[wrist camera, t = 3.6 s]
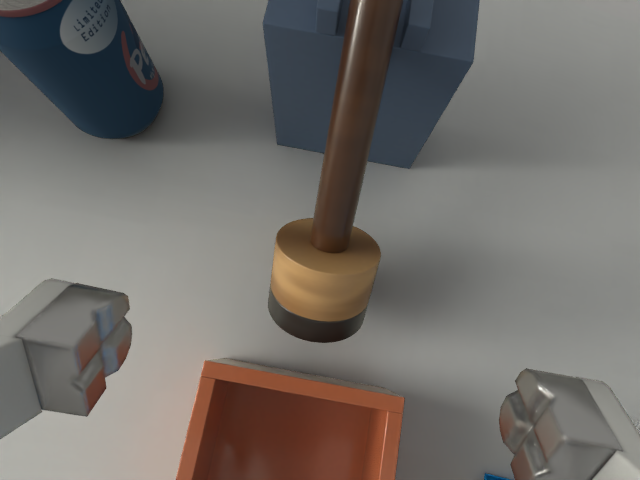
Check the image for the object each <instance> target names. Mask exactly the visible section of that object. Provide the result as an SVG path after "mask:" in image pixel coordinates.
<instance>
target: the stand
mask: <svg viewBox="0 0 640 480" xmlns="http://www.w3.org/2000/svg"><path fill="white" fill-rule="evenodd" d="M349 4H350V0H269V1H268V5H267V9H266V13H265V16H264V20H263V30H264V38H265V46H266V55H267V63H268V71H269V80H270V88H271V96H272V105H273V113H274V121H275V130H276V138H277V144H278V145H283V146H288V147H294V148H299V149H305V150H310V151H315V152H321V153H325V147H326V141H327V135H328V129H329V123H330V117H331V111H332V105H333V100H334V94H335V88H336V82H337V76H338V70H339V64H340V58H341V52H342V46H343V40H344V34H345V28H346V22H347V16H348V10H349ZM478 11H479V0H403V4H402V9H401V13H400V18H399V22H398V27H397V31H396V35H395V40H394V44H393V49H392V53H391V58H390V62H389V67H388V71H387V76H386V80H385V85H384V89H383V93H382V98H381V102H380V107H379V111H378V116H377V120H376V125H375V129H374V134H373V138H372V143H371V147H370V152H369V156H368V160H367V161H370V162H375V163H381V164H386V165H392V166H397V167H402V168H408V169H409V168H410V167H411V165H412V163H413V162H414V160H415V158H416V157H417V155H418V153H419V152H420V150H421V148H422V147H423V145H424V143H425V142H426V140H427V138H428V137H429V135H430V133H431V132H432V130H433V128H434V127H435V125H436V123H437V122H438V120H439V118H440V117H441V115H442V113H443V112H444V110H445V108H446V107H447V105H448V103H449V102H450V100H451V98H452V97H453V95H454V93H455V92H456V90H457V88H458V87H459V85H460V83H461V82H462V80H463V78H464V77H465V75H466V73H467V72H468V70H469V68H470V67H471V65H472V63H473V61H474V51H475V41H476V31H477V21H478Z"/></svg>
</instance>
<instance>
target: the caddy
mask: <svg viewBox="0 0 640 480" xmlns="http://www.w3.org/2000/svg"><path fill="white" fill-rule="evenodd" d="M404 401H405V398H404V397H402V396H400V395H398V394H396V393H394V392H392V391H389V390H387V389H385V388H383V387H377V386H372V385H366V384H361V383H356V382H350V381H345V380H340V379H334V378H329V377H324V376H318V375H313V374H307V373H302V372H297V371H291V370H286V369H281V368H275V367H270V366H265V365H259V364H254V363H248V362H243V361H238V360H232V359H227V358H221V359H213V360H205V361H204V364H203V368H202V373H201V377H200V381H199V385H198V389H197V393H196V397H195V401H194V406H193V410H192V414H191V418H190V422H189V426H188V430H187V435H186V439H185V443H184V447H183V451H182V455H181V459H180V464H179V468H178V472H177V476H176V480H395V476H396V468H397V460H398V451H399V443H400V434H401V426H402V418H403V414H402V413H403V409H404Z"/></svg>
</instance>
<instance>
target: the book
mask: <svg viewBox="0 0 640 480" xmlns="http://www.w3.org/2000/svg"><path fill="white" fill-rule="evenodd" d="M484 480H511V479H507V478H502V477H498V476H494V475H490V474H486V473H485V476H484Z"/></svg>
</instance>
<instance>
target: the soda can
mask: <svg viewBox="0 0 640 480" xmlns="http://www.w3.org/2000/svg"><path fill="white" fill-rule="evenodd" d="M0 51H1V52H2V53H3V54H4V55H5V56H6V57H7V58H8V59H9V60H10V61H11V62H12V63H13V64H14V65H15V66H16V67H17V68H18V69H19V70H20V71H21V72H22V73H23V74H24V75H25V76H26V77H27V78H28V79H29V80H30V81H31V82H32V83H33V84H34V85H35V86H36V87H37V88H38V89H39V90H40V91H41V92H42V93H43V94H44V95H45V96H46V97H47V98H48V99H49V100H50V101H51V102H52V103H53V104H55V105H56V106H57V107H58V108H59V109H60V110H61V111H62V112H63V113H64V114H65V115H66V116H67V117H68V118H69V119H70V120H71V121H72V122H73V123H74V124H75V125H76V126H77V127H78V128H79V129H81V130H82V131H84V132H86V133H88V134H90V135H93V136H96V137H101V138H110V139H115V138H126V137H131V136H134V135H136V134H138V133H140V132H142V131H143V130H145V129H146V128H147V127H148V126H149V125H150V124H151V123H152V122H153V121H154V119H155V118H156V116H157V114H158V112H159V110H160V107H161V104H162V100H163V84H162V80H161V78H160V75H159V74H158V72H157V70H156V68H155V66H154V64H153V62H152V60H151V58H150V56H149V55H148V53H147V51H146V49H145V47H144V45H143V43H142V41H141V39H140V37H139V35H138V34H137V32H136V30H135V28H134V26H133V24H132V22H131V20H130V18H129V16H128V15H127V13H126V11H125V9H124V7H123V5H122V3H121V1H120V0H0Z"/></svg>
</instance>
